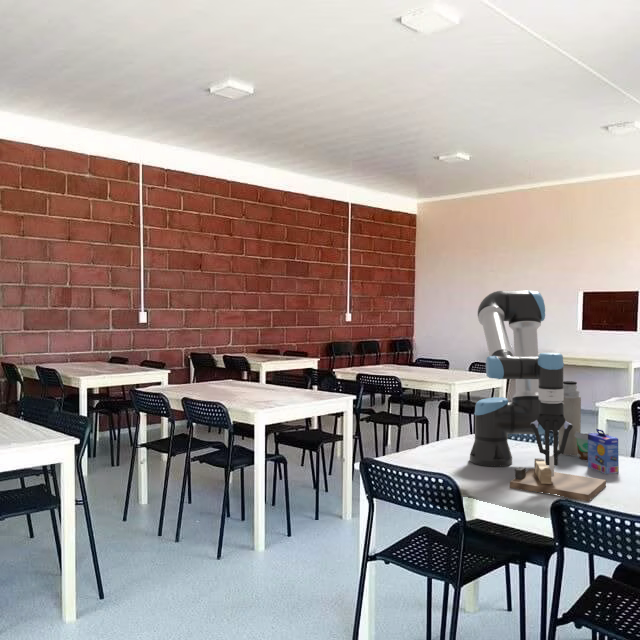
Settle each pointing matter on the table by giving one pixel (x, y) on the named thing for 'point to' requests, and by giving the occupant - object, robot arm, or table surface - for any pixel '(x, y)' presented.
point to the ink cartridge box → (603, 453)
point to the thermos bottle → (571, 417)
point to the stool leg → (542, 471)
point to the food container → (582, 445)
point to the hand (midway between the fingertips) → (551, 475)
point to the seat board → (559, 484)
